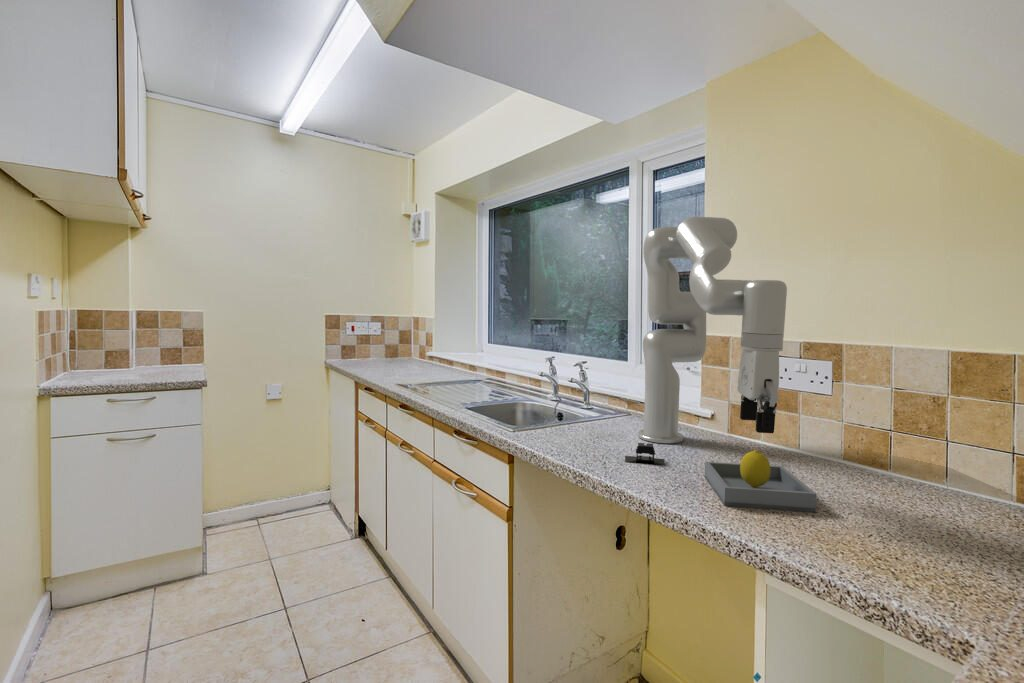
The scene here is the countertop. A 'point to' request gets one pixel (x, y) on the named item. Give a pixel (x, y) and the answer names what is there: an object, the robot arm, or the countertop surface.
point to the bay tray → (759, 489)
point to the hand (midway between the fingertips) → (756, 425)
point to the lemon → (755, 468)
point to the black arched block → (643, 459)
